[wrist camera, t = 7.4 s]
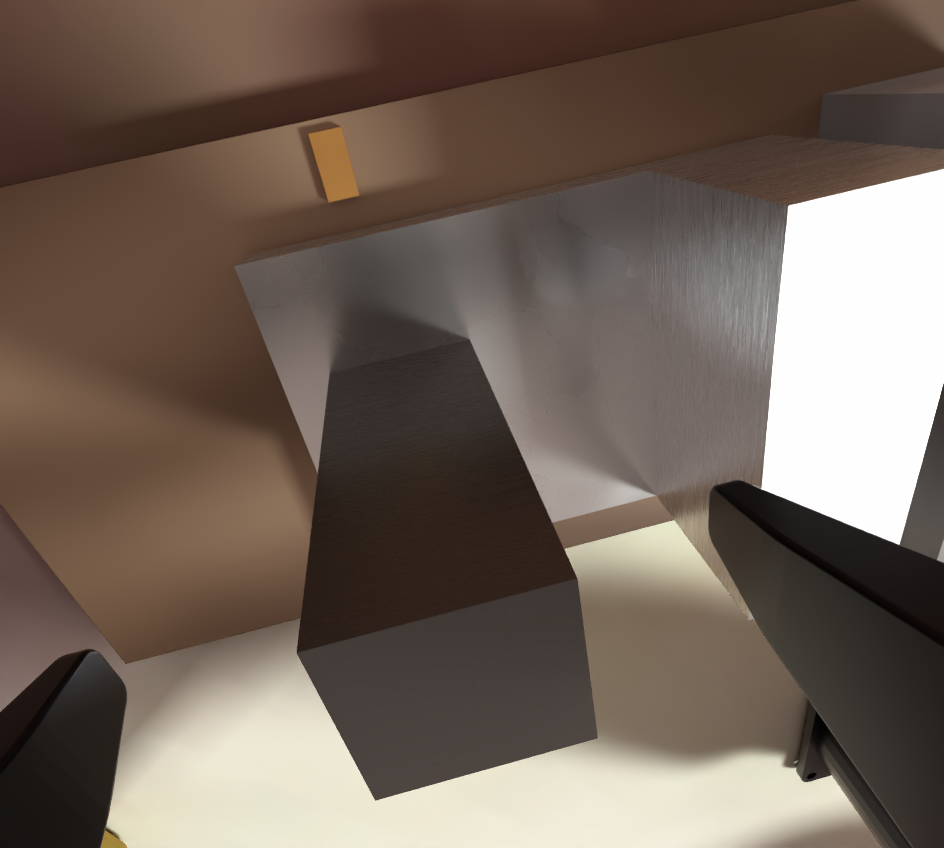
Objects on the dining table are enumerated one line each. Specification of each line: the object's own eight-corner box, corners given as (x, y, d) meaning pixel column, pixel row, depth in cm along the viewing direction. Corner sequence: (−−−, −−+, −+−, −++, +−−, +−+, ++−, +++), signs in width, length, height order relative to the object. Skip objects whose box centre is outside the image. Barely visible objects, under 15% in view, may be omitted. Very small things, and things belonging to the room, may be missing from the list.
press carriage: (746, 451, 16) (1027, 708, 9) (357, 551, 15) (355, 902, 9) (770, 134, 12) (1307, 179, 5) (242, 255, 11) (65, 485, 5)
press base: (891, 439, 18) (1100, 573, 13) (137, 635, 17) (40, 868, 12) (999, -31, 12) (1473, -129, 7) (-167, 224, 11) (-640, 335, 6)
